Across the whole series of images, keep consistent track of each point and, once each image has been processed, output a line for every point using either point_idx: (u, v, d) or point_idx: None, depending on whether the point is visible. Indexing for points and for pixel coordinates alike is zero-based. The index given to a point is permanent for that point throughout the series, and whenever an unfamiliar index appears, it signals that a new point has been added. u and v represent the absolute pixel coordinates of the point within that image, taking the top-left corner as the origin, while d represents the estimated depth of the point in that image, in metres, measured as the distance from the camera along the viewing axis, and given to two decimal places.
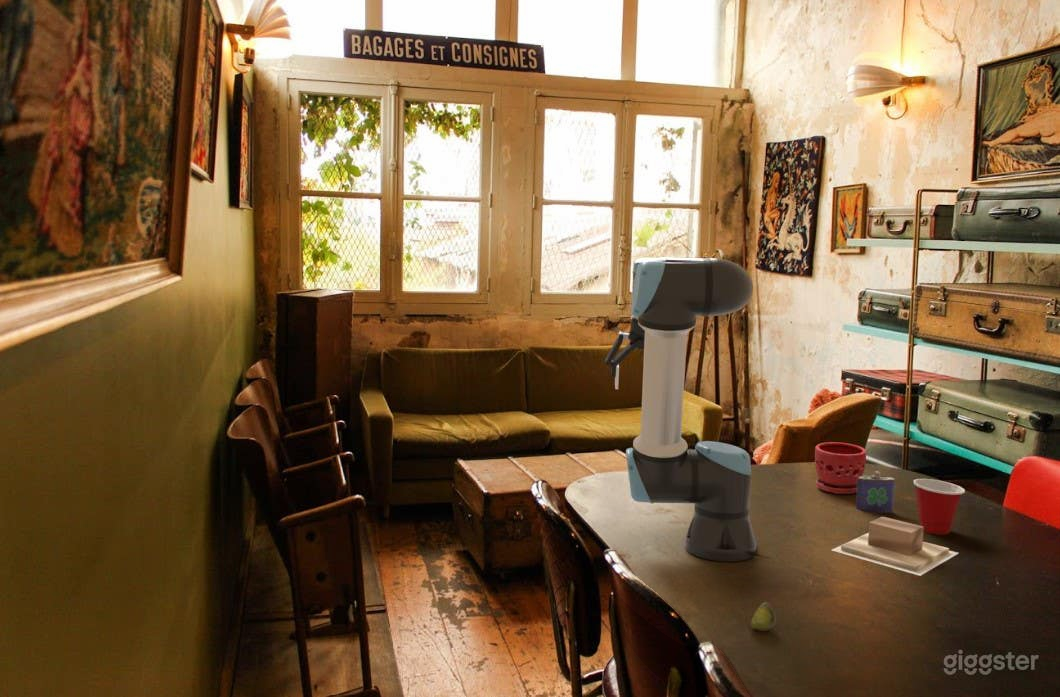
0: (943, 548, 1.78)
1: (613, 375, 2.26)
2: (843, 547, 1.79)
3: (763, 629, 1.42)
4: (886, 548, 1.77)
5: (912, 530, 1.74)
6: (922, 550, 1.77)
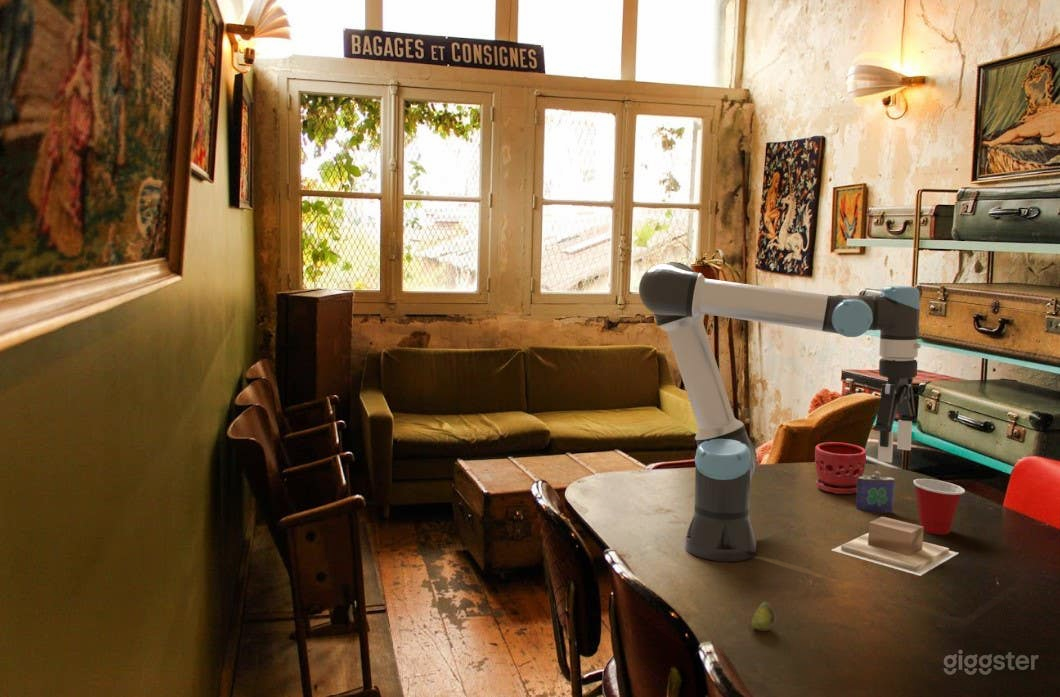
0: (943, 548, 1.78)
1: None
2: (843, 547, 1.79)
3: (763, 629, 1.42)
4: (886, 548, 1.77)
5: (912, 530, 1.74)
6: (922, 550, 1.77)
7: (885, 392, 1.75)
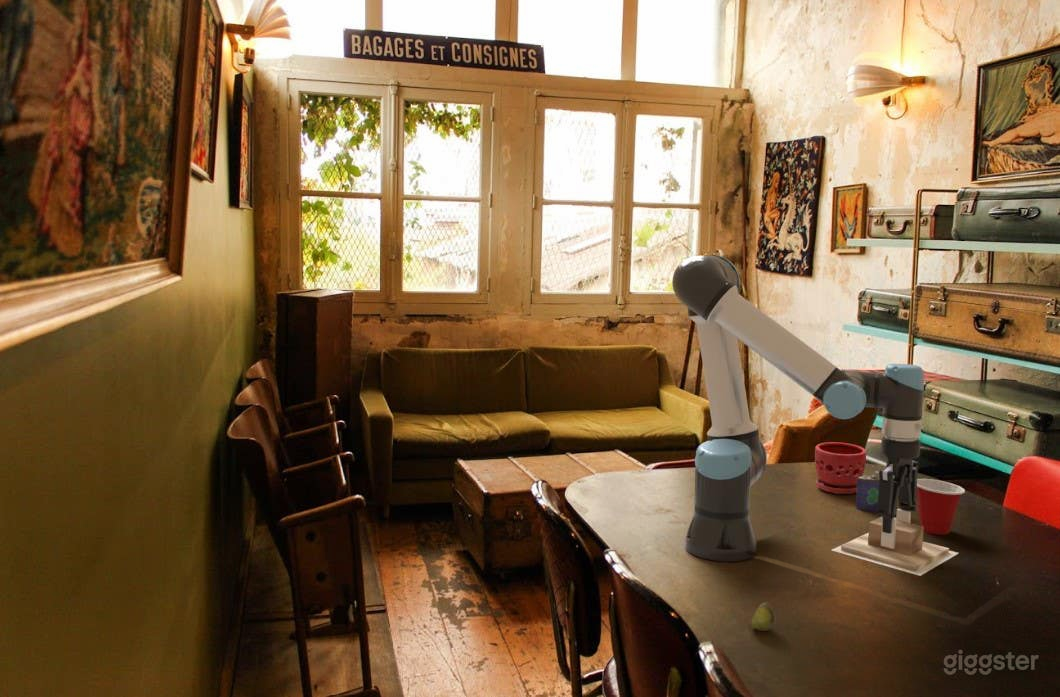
0: (943, 548, 1.78)
1: None
2: (843, 547, 1.79)
3: (763, 629, 1.42)
4: (886, 548, 1.77)
5: (912, 530, 1.74)
6: (922, 550, 1.77)
7: (883, 478, 1.73)
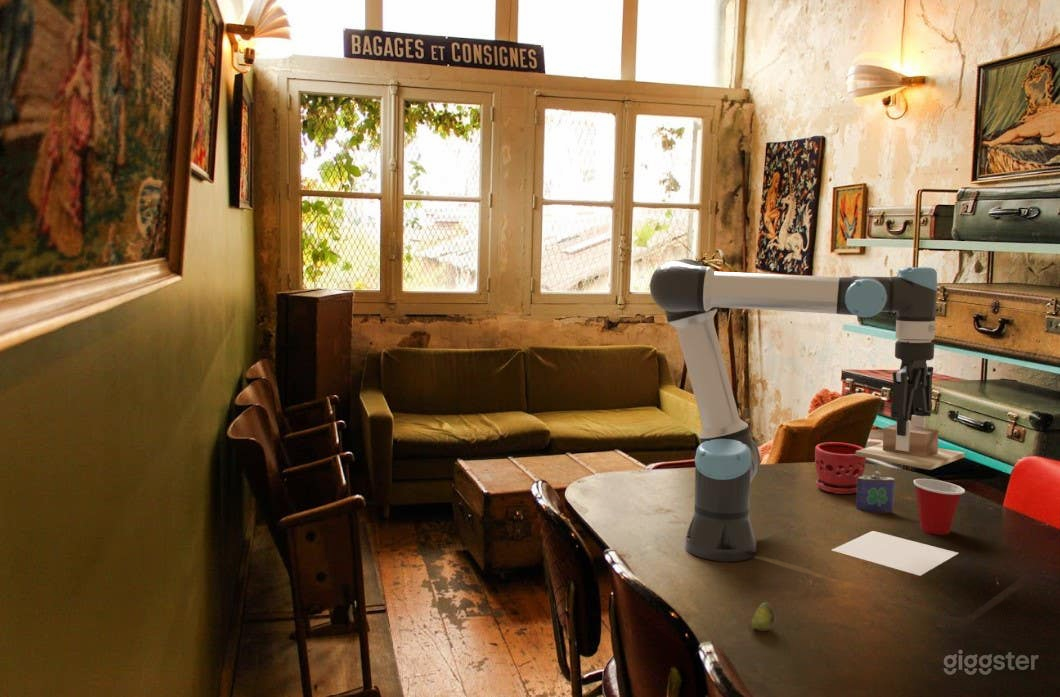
0: (959, 452, 1.77)
1: None
2: (857, 452, 1.79)
3: (763, 629, 1.42)
4: (901, 452, 1.77)
5: (927, 432, 1.74)
6: (937, 454, 1.76)
7: (897, 380, 1.73)
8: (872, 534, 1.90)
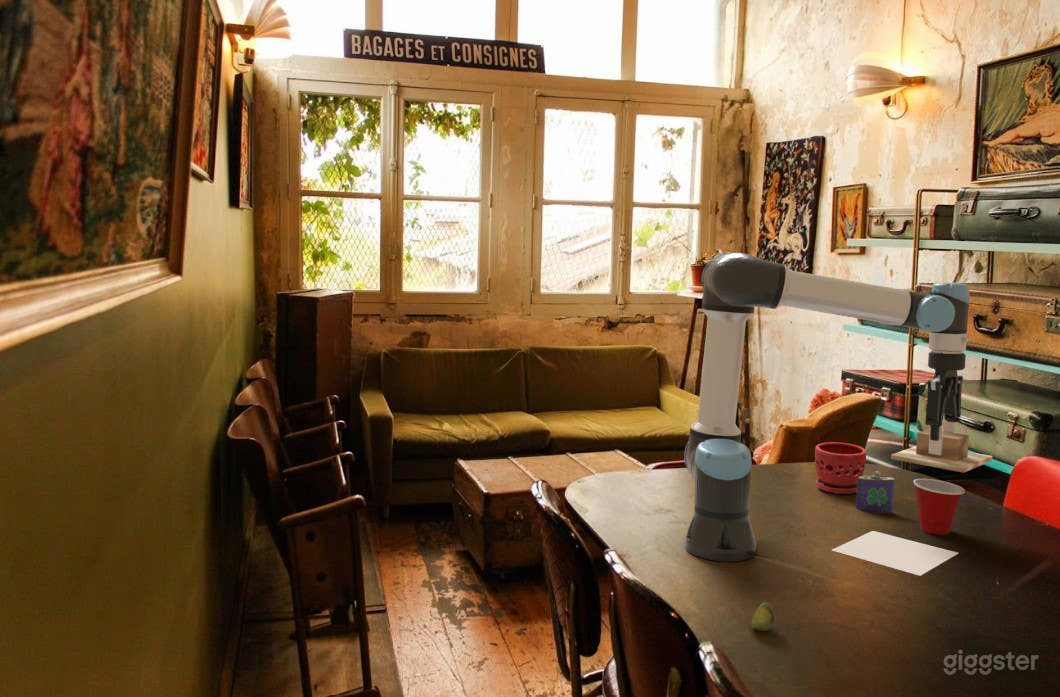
0: (987, 456, 1.90)
1: None
2: (893, 456, 1.91)
3: (763, 629, 1.42)
4: (934, 455, 1.89)
5: (959, 437, 1.86)
6: (967, 457, 1.89)
7: (931, 388, 1.85)
8: (872, 534, 1.90)
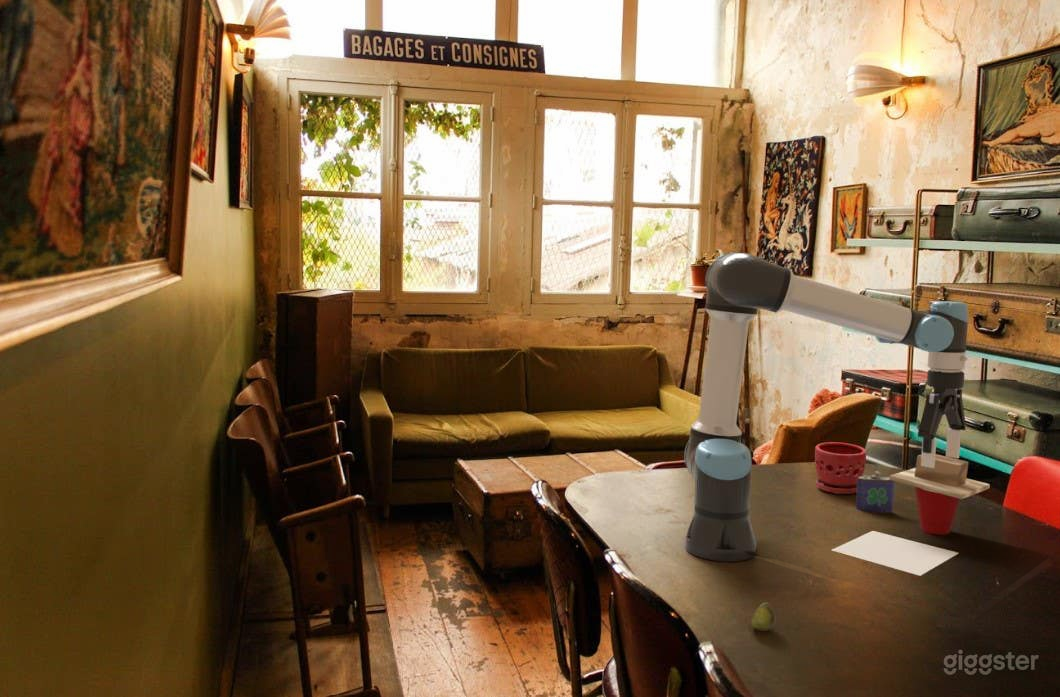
0: (984, 484, 1.91)
1: None
2: (891, 476, 1.91)
3: (763, 629, 1.42)
4: (932, 479, 1.90)
5: (958, 463, 1.87)
6: (965, 484, 1.89)
7: (929, 401, 1.85)
8: (872, 534, 1.90)
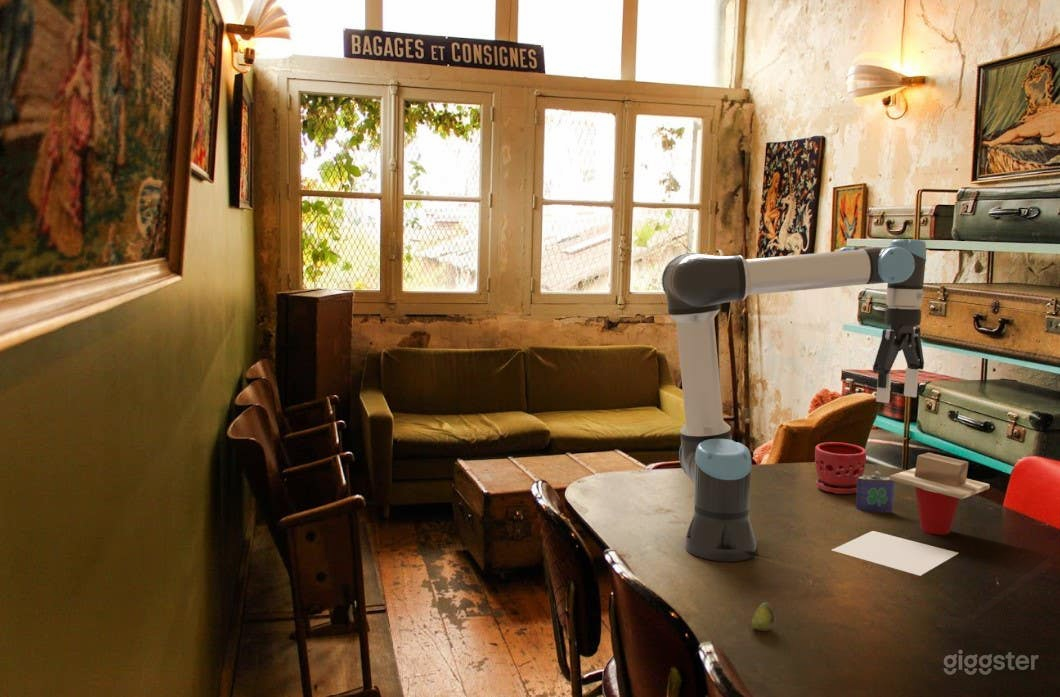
0: (984, 484, 1.91)
1: None
2: (892, 477, 1.91)
3: (763, 629, 1.42)
4: (932, 479, 1.90)
5: (959, 463, 1.87)
6: (965, 484, 1.89)
7: (885, 337, 1.87)
8: (872, 534, 1.90)
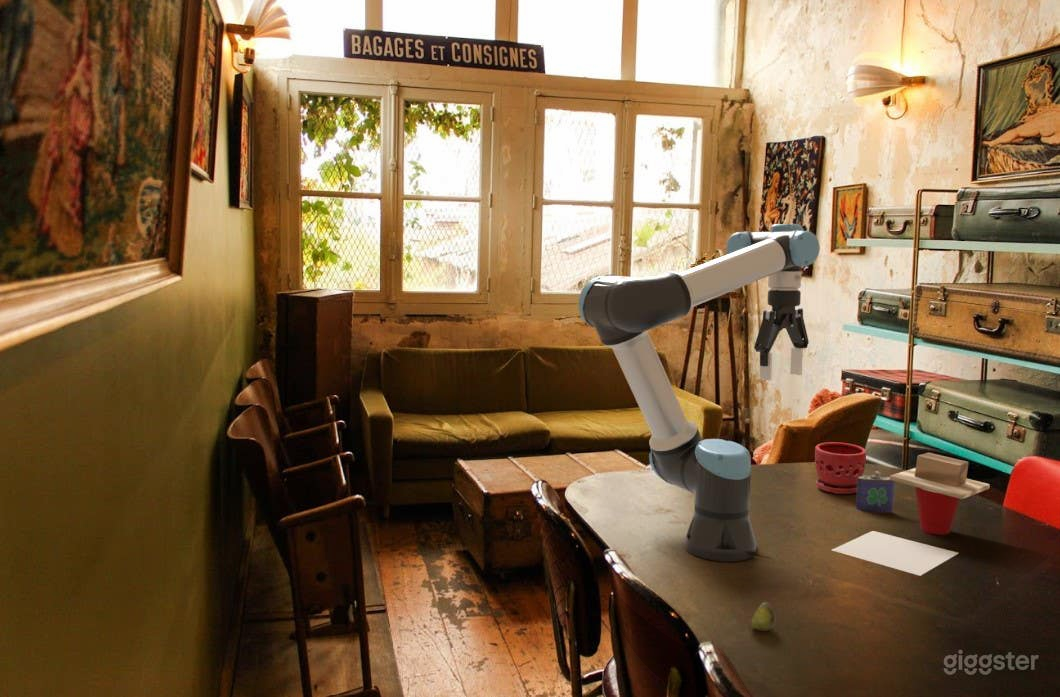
0: (984, 484, 1.91)
1: None
2: (892, 477, 1.91)
3: (763, 629, 1.42)
4: (932, 480, 1.90)
5: (959, 463, 1.87)
6: (965, 484, 1.89)
7: (766, 317, 1.96)
8: (872, 534, 1.90)
